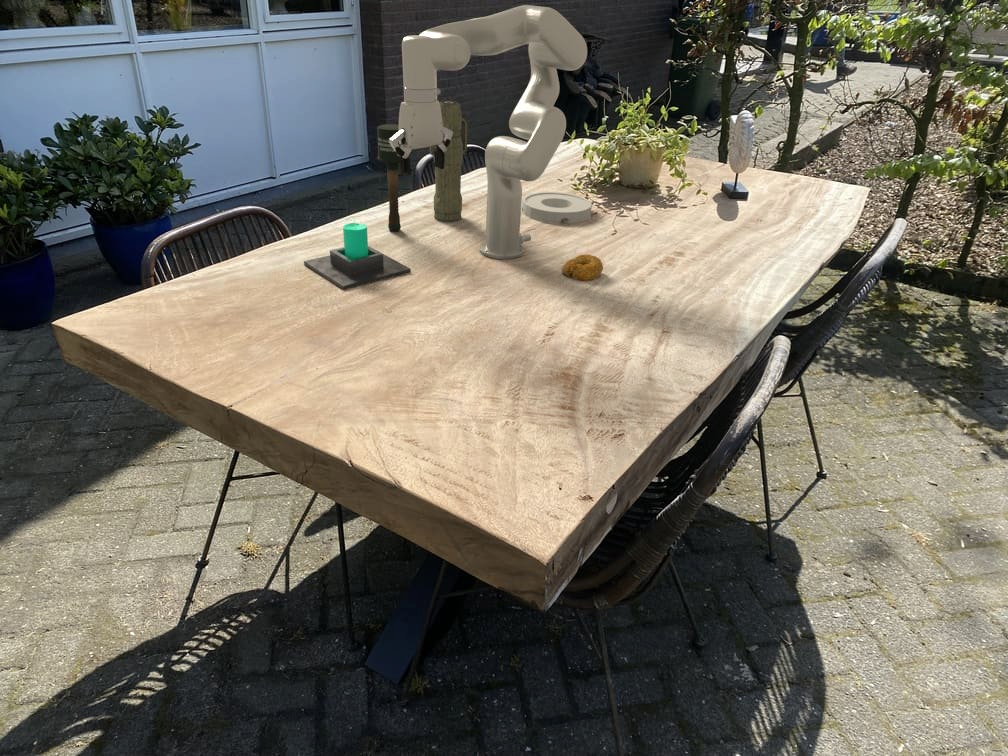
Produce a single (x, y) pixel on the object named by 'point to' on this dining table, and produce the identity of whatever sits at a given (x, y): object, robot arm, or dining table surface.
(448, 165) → the olive green tall cylinder
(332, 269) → the socket holder
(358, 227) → the candle
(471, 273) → the dining table surface
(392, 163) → the grenade
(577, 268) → the bagel
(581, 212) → the grey round base
